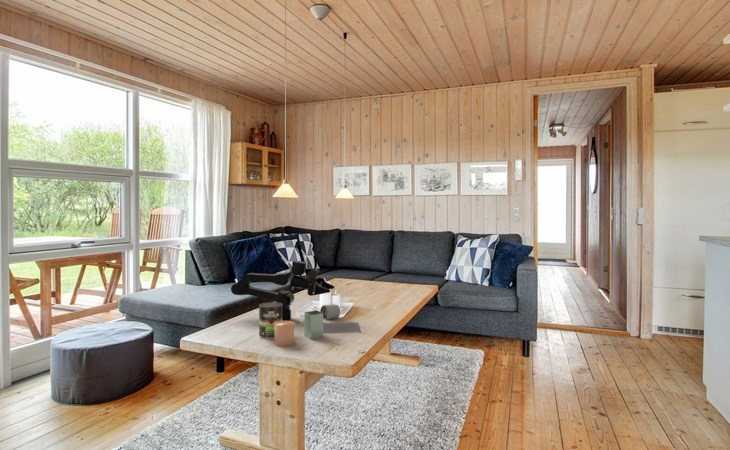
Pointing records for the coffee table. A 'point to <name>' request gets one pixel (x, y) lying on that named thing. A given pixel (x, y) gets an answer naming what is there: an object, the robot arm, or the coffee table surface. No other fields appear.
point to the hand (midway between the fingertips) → (332, 289)
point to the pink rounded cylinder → (284, 333)
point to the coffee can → (269, 318)
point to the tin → (313, 324)
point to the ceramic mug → (330, 311)
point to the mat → (341, 327)
